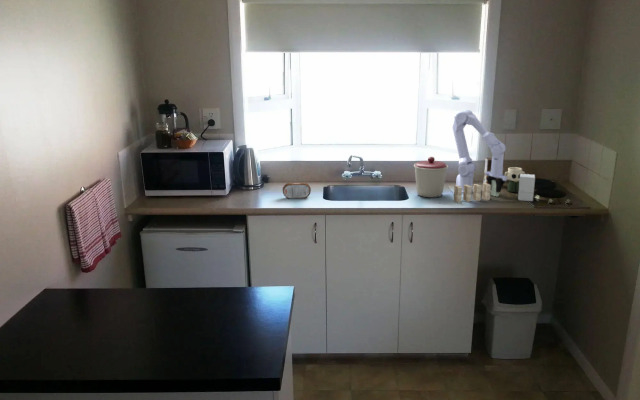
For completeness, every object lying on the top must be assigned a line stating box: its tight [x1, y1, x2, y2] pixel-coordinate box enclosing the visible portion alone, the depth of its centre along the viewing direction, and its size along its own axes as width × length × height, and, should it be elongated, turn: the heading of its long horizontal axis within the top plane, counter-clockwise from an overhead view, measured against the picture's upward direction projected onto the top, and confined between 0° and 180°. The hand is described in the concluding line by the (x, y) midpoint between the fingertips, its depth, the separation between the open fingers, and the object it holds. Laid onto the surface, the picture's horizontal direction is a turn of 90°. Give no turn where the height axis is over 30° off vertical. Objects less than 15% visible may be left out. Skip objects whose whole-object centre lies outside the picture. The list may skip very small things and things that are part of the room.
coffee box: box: [482, 157, 505, 184], centre depth 295 cm, size 9×6×16 cm
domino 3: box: [471, 183, 482, 202], centre depth 269 cm, size 4×2×8 cm, turn 15°
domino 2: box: [462, 185, 473, 203], centre depth 267 cm, size 4×2×8 cm, turn 15°
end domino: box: [490, 180, 500, 197], centre depth 277 cm, size 4×2×8 cm, turn 15°
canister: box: [413, 156, 449, 198], centre depth 277 cm, size 18×18×21 cm
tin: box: [282, 182, 312, 199], centre depth 276 cm, size 15×3×8 cm, turn 94°
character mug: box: [504, 166, 526, 193], centre depth 283 cm, size 11×7×13 cm, turn 93°
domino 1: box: [453, 185, 463, 204], centre depth 266 cm, size 4×2×8 cm, turn 15°
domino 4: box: [481, 183, 491, 201], centre depth 270 cm, size 4×2×8 cm, turn 14°
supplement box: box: [517, 173, 536, 202], centre depth 268 cm, size 7×7×13 cm
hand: (495, 191), depth 277 cm, fingers closed on end domino, 5 cm apart
